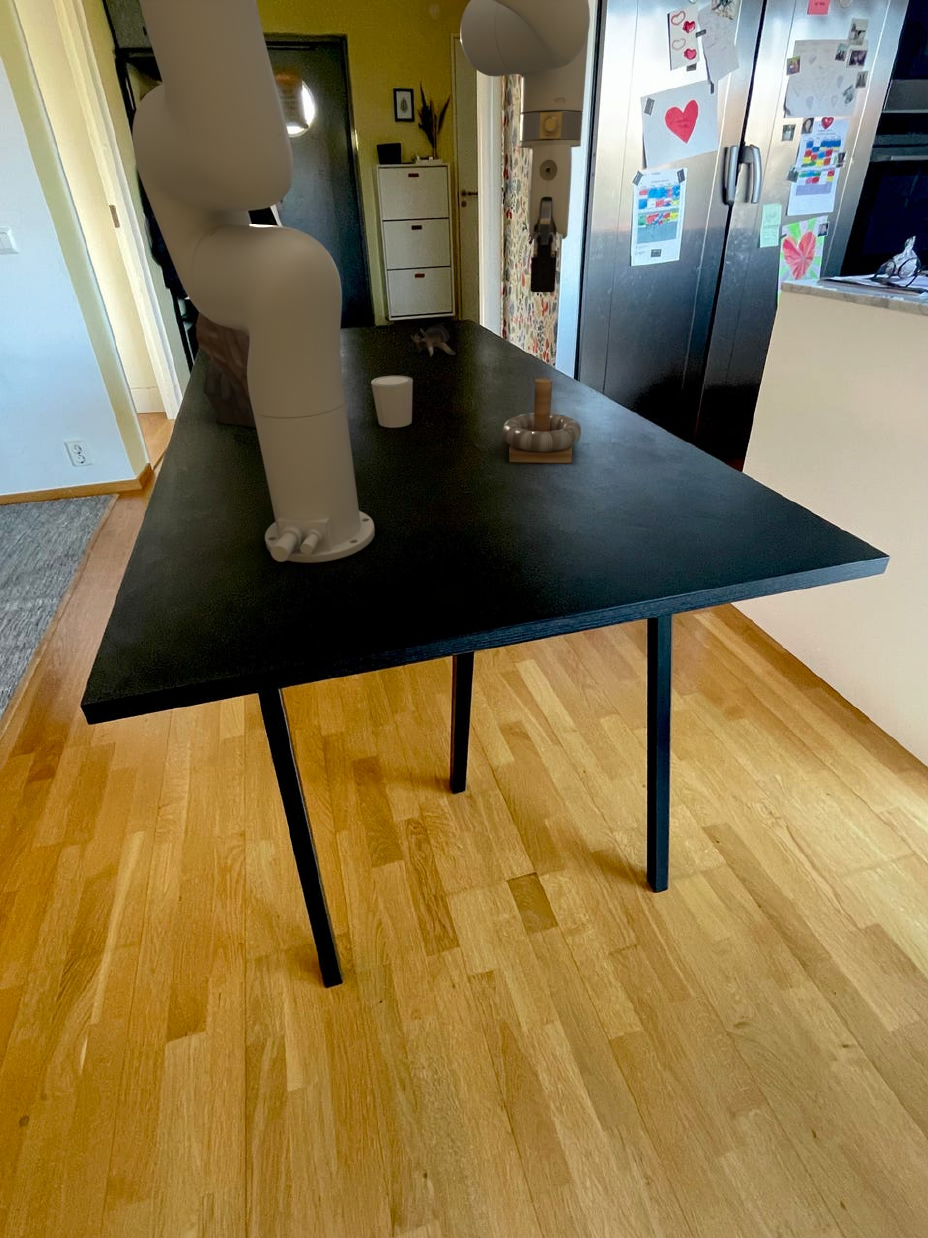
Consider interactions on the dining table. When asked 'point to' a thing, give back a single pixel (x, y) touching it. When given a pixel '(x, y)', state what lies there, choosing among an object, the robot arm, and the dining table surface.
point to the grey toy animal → (433, 339)
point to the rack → (541, 428)
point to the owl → (226, 371)
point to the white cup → (393, 400)
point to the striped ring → (541, 433)
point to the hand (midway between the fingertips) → (543, 286)
